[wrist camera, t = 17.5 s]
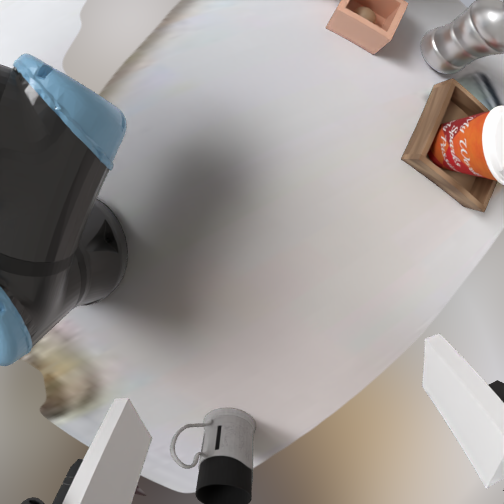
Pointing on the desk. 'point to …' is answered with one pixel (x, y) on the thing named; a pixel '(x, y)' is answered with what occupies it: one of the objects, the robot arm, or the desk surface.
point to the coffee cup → (472, 145)
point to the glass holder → (223, 457)
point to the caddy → (435, 113)
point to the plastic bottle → (466, 37)
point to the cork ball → (366, 13)
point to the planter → (367, 22)
